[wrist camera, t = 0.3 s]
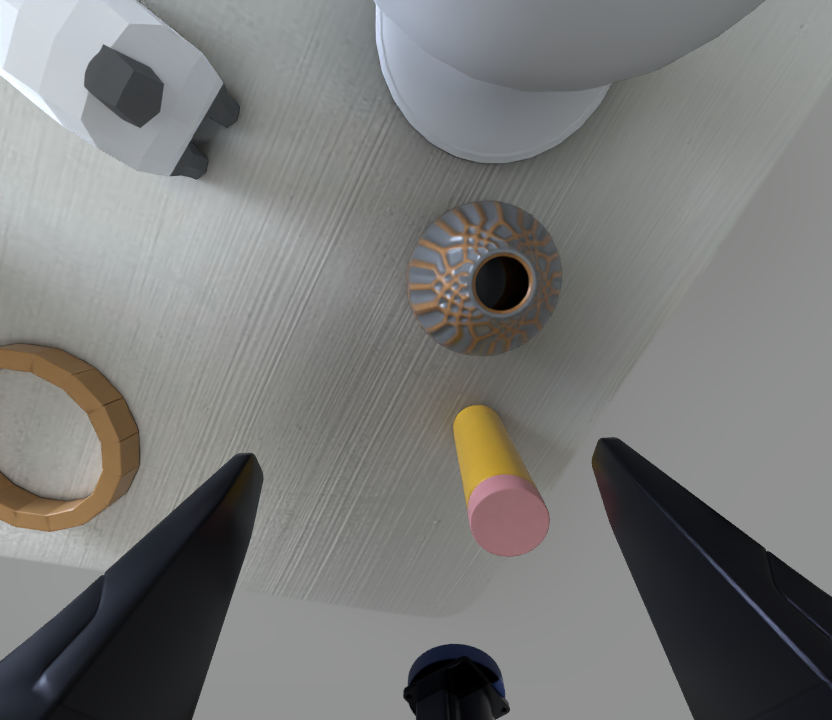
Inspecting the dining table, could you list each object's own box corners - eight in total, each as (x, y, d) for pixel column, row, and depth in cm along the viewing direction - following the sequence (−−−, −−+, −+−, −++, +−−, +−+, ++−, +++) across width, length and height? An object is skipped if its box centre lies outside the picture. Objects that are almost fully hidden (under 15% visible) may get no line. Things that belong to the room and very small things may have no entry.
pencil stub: (511, 432, 23) (565, 531, 14) (471, 458, 23) (498, 570, 14) (483, 395, 22) (521, 473, 13) (443, 422, 23) (454, 515, 14)
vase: (550, 312, 21) (635, 336, 12) (438, 359, 22) (447, 413, 13) (506, 193, 20) (569, 129, 11) (389, 248, 20) (363, 228, 12)
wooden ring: (177, 453, 23) (161, 465, 22) (58, 545, 25) (36, 561, 24) (36, 305, 22) (8, 307, 20) (-82, 416, 23) (-115, 425, 22)
